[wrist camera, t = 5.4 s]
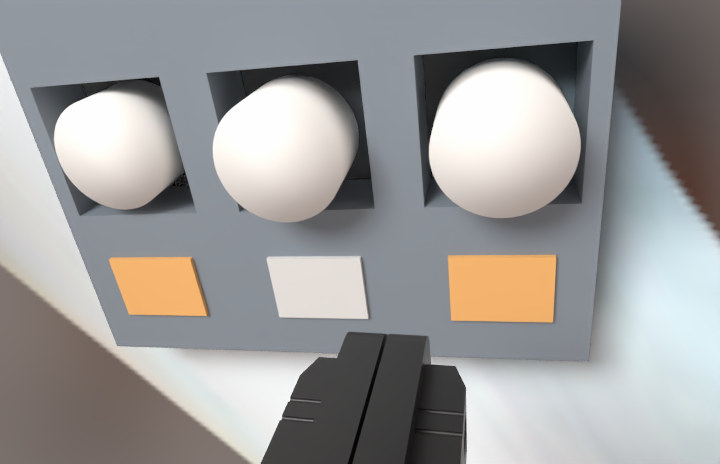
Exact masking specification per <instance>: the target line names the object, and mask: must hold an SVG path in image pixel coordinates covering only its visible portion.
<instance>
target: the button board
mask: <svg viewBox="0 0 720 464" xmlns="http://www.w3.org/2000/svg"><path fill="white" fill-rule="evenodd" d="M620 9H621V0H0V53H1V56H2V58H3V61H4V63H5V66H6V68H7V71H8V73H9V76H10V78H11V81H12V83H13V86H14V88H15V91H16V93H17V96H18V98H19V101H20V103H21V106H22V108H23V111H24V113H25V116H26V118H27V121H28V123H29V126H30V128H31V131H32V133H33V136H34V138H35V141H36V143H37V146H38V148H39V151H40V153H41V156H42V158H43V161H44V163H45V166H46V168H47V171H48V173H49V176H50V179H51V181H52V184H53V186H54V189H55V191H56V194H57V196H58V199H59V201H60V204H61V206H62V209H63V211H64V214H65V216H66V219H67V221H68V224H69V226H70V229H71V231H72V234H73V236H74V239H75V241H76V244H77V246H78V249H79V251H80V254H81V256H82V259H83V261H84V264H85V266H86V269H87V271H88V274H89V276H90V279H91V281H92V284H93V286H94V289H95V291H96V294H97V296H98V299H99V301H100V304H101V306H102V309H103V311H104V314H105V316H106V319H107V321H108V324H109V326H110V329H111V331H112V334H113V336H114V339H115V341H116V344H117V346H131V347H162V348H193V349H223V350H254V351H285V352H315V353H339V352H340V349H341V346H342V344H343V341H344V338H345V336H346V334H347V333H348V332H365V333H383V334H387V335H389V334H404V335H422V336H428V337H429V342H430V356H438V357H469V358H500V359H530V360H561V361H589V353H590V342H591V331H592V319H593V308H594V297H595V286H596V275H597V264H598V253H599V242H600V231H601V220H602V209H603V198H604V187H605V176H606V165H607V154H608V143H609V132H610V121H611V110H612V99H613V87H614V76H615V65H616V54H617V43H618V31H619V21H620ZM567 42H578V51H577V68H576V85H575V102H574V118H575V120H576V122H577V125H578V128H579V133H580V139H581V150H580V157H579V161H578V165H577V168H576V170H575V173H574V175H573V177H572V178H571V180H570V182H569V183H568V185H567V186H566V187H565V189H564V190H563V191H562V192H561V193H560V194H559V195H558V196H557V197H556V198H555V199H554V200H552V201H551V202H550V203H548V204H547V205H545V206H543V207H542V208H540V209H538V210H536V211H533V212H531V213H528V214H525V215H522V216H517V217H512V218H491V217H484V216H481V215H477V214H474V213H472V212H469V211H467V210H465V209H463V208H461V207H460V206H458V205H457V204H455V203H454V202H453V201H452V200H450V199H449V198H448V197H447V196H446V195H445V193H444V192H443V191H442V190H441V189H440V187H439V185H438V184H437V182H436V180H435V178H434V177H430V162H429V146H428V131H427V115H426V99H425V84H424V68H423V55H425V54H437V53H449V52H460V51H472V50H484V49H496V48H508V47H520V46H532V45H543V44H555V43H567ZM354 60H358V68H359V76H360V85H361V94H362V102H363V111H364V119H365V128H366V137H367V145H368V154H369V163H370V171H371V179H356V180H343V182H342V184H341V186H340V188H339V190H338V191H337V193H336V195H335V197H334V199H333V200H332V201H331V203H330V204H329V205H328V206H327V207H326V208H325V209H324V210H323V211H321V212H320V213H318V214H317V215H315V216H313V217H311V218H309V219H306V220H303V221H298V222H289V223H287V222H276V221H271V220H267V219H264V218H261V217H259V216H257V215H255V214H253V213H251V212H249V211H248V210H246V209H245V208H243V207H242V206H241V205H240V204H238V203H237V202H236V201H235V200H234V199H233V198H232V197H231V196H230V194H229V193H228V192H227V190H226V189H225V188H224V186H223V184H222V183H221V181H220V179H219V176H218V174H217V171H216V168H215V165H214V160H213V140H214V136H215V132H216V130H217V127H218V125H219V123H220V121H221V120H222V118H223V117H224V116H225V114H226V113H227V112H228V111H229V110H231V109H232V108H233V107H234V106H235V105H237V104H238V103H239V102H241V101H242V100H243V99H245V98H246V95H245V90H244V85H243V81H242V76H241V71H240V70H247V69H259V68H271V67H282V66H294V65H306V64H318V63H330V62H342V61H354ZM152 77H159V79H160V83H161V86H162V90H163V93H164V97H165V100H166V104H167V108H168V111H169V115H170V118H171V122H172V126H173V129H174V133H175V136H176V140H177V144H178V147H179V151H180V154H181V158H182V162H183V165H184V169H185V172H186V176H187V179H188V183H189V186H168V187H167V188H165V189H164V190H163V191H162V192H161V193H159V194H158V195H157V196H156V197H155V198H153V199H152V200H151V201H150V202H149V203H147V204H145V205H144V206H141V207H139V208H135V209H127V210H124V209H115V208H111V207H107V206H104V205H102V204H99V203H98V202H96V201H94V200H92V199H91V198H89V197H88V196H86V195H85V194H84V193H82V192H81V191H80V190H79V189H78V188H77V187H76V186H75V185H74V184H73V183H72V182H71V180H70V179H69V178H68V176H67V175H66V174H65V172H64V170H63V168H62V167H61V164H60V162H59V160H58V157H57V154H56V150H55V144H54V131H55V127H56V123H57V121H58V119H59V117H60V115H61V114H62V112H63V111H64V110H65V109H66V108H67V107H69V106H70V105H72V104H74V103H76V102H78V101H80V100H82V99H85V98H87V97H86V94H85V91H84V88H83V85H82V83H93V82H105V81H116V80H128V79H140V78H152Z"/></svg>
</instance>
